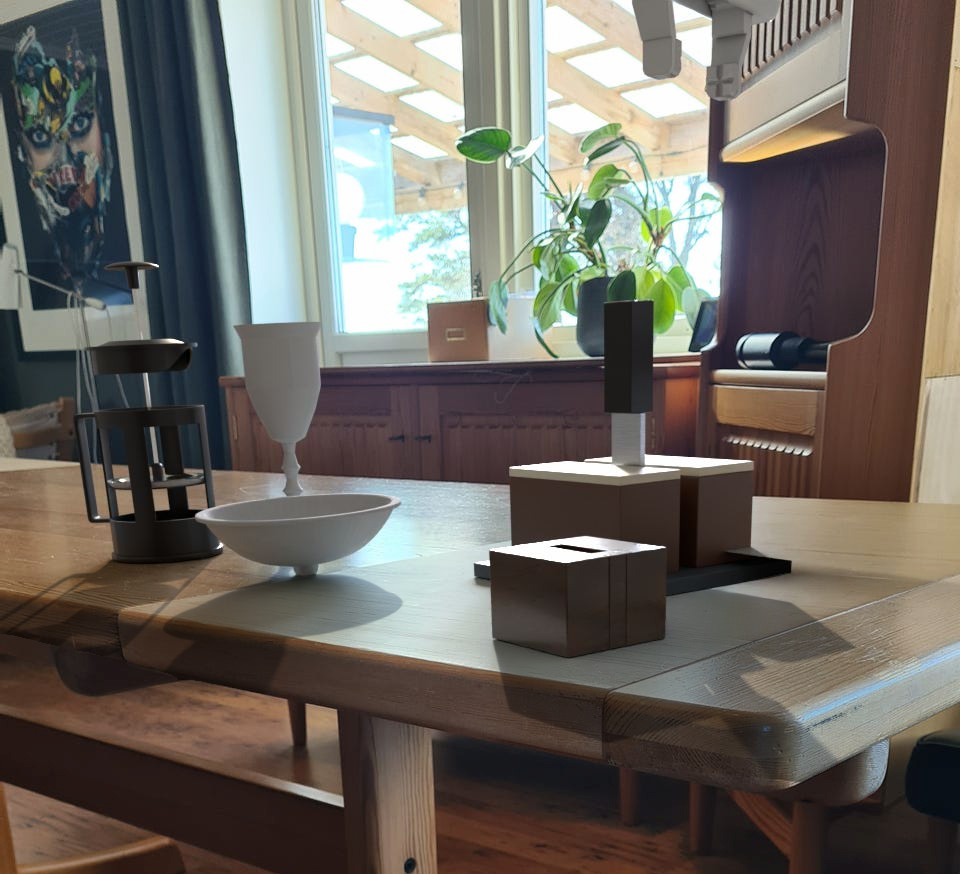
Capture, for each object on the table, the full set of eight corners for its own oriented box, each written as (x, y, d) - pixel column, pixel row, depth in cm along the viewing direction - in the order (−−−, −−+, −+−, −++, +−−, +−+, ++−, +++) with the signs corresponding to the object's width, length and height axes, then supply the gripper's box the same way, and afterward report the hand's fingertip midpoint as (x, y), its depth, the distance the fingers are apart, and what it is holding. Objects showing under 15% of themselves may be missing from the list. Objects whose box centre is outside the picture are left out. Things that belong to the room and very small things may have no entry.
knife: (624, 557, 93) (625, 302, 87) (652, 561, 91) (655, 299, 84) (603, 560, 92) (602, 302, 86) (631, 564, 90) (632, 300, 83)
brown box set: (639, 550, 102) (639, 451, 99) (791, 573, 90) (797, 459, 87) (473, 576, 94) (469, 468, 91) (616, 604, 81) (616, 480, 78)
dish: (289, 553, 108) (283, 492, 106) (441, 558, 102) (438, 493, 101) (158, 590, 93) (148, 520, 92) (327, 598, 88) (321, 523, 86)
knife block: (586, 620, 77) (585, 535, 75) (666, 638, 72) (667, 547, 70) (491, 638, 73) (488, 549, 71) (567, 658, 68) (566, 562, 66)
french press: (243, 545, 114) (213, 262, 106) (213, 561, 106) (177, 254, 97) (116, 548, 115) (76, 269, 107) (76, 565, 107) (29, 262, 98)
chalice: (243, 554, 109) (218, 325, 102) (273, 542, 115) (252, 326, 108) (324, 554, 107) (304, 321, 101) (351, 542, 113) (334, 322, 107)
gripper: (676, -277, 62) (673, 53, 67) (810, -157, 78) (799, 102, 83) (561, -242, 65) (566, 71, 70) (713, -133, 81) (708, 115, 86)
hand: (694, 88), depth 77 cm, fingers open, 8 cm apart
